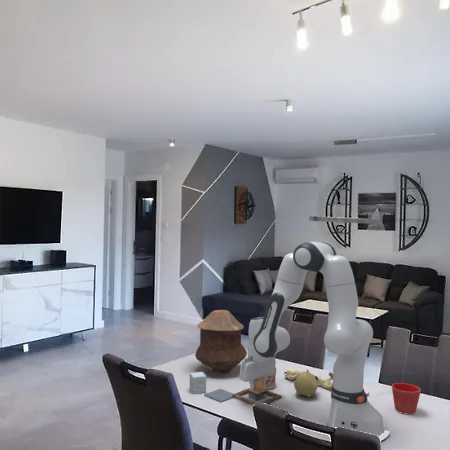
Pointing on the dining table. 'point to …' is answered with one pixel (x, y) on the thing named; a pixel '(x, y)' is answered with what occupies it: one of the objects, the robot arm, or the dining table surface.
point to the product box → (197, 382)
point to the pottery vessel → (220, 342)
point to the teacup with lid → (270, 380)
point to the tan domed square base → (258, 386)
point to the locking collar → (247, 400)
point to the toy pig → (306, 384)
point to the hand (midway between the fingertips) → (257, 386)
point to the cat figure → (323, 382)
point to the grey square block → (256, 395)
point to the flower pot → (405, 397)
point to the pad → (219, 395)
